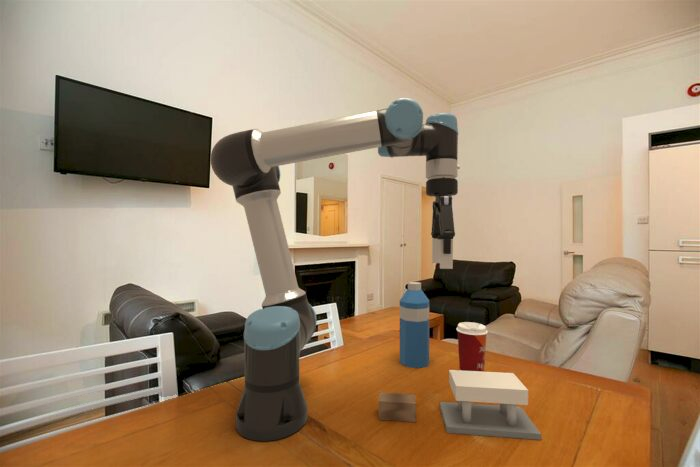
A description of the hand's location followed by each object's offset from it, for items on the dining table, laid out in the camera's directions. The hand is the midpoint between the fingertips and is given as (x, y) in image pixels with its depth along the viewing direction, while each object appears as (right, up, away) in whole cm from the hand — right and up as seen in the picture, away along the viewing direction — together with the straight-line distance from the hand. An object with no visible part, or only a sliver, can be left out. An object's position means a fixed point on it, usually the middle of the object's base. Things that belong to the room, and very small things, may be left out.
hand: (441, 265), depth 80 cm
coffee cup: (+11, -33, +11) cm, 36 cm away
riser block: (-12, -33, -8) cm, 36 cm away
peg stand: (+7, -33, -10) cm, 35 cm away
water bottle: (-2, -33, +22) cm, 40 cm away
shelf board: (+7, -26, -10) cm, 29 cm away
